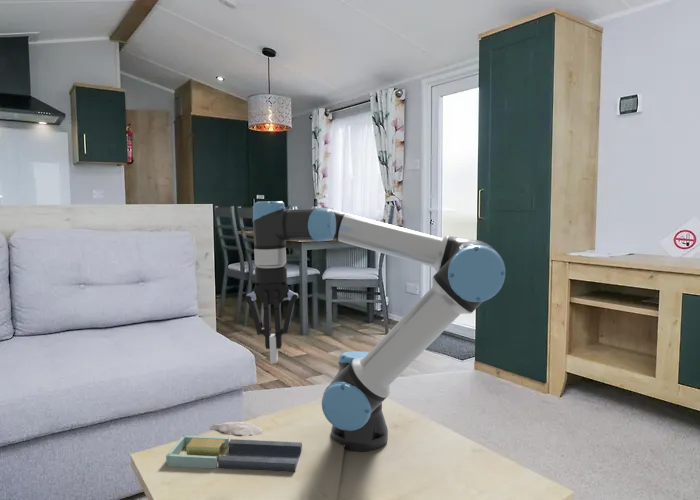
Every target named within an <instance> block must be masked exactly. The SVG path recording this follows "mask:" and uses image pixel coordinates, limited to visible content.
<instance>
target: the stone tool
mask: <svg viewBox="0 0 700 500" xmlns="http://www.w3.org/2000/svg"><path fill="white" fill-rule="evenodd" d="M209 430H211V431H219V432H220V433H223V434H225V435H235V436H237V437H239V436H243V437H248V436H254V435H262V434H263V432H264V429H263V428H261V427H259V426H258V425H256V424H254V423H249V422H248V423H247V422H243V421H226V422H224V423H220V424H219V423H218V424H212V425H210V426H209Z"/></svg>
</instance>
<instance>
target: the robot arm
mask: <svg viewBox="0 0 700 500" xmlns="http://www.w3.org/2000/svg"><path fill="white" fill-rule="evenodd" d="M252 227H253V229H252V230H253V243H254V244H253V245H254V246H253V247H254V249H253V252H254V257H253V258H254V265H255V266H256V267H255V268H254V276H255V284H254V285H255V286H254V288H253V291H252V292H250V293H247V294H246V295H245V297H244V300H245V301H246V302H247V304H248V306H249V308H250V312H251V316H252V318H253V322H254V326H255V330H256V334H259V335H263V336H264V342H265V345H264V346H265V349H266V350H269V359H270V360H269V363H270V364H277V363H278V361H279V349H281V348H282V345H283V340H282V339H283V338H282V337H283V335H284V334H287V333H288V332H289V330H290V326H291V320H292V316H293V312H294V307H295V302H296V301H297V300H298V298H299V293H298V292H294V291H292V290H290V286H289V284H288V270H287V269H288V268H287V267H286V264H287V250H286V249H287V245H286V243H287V242H293V241H295V242H319V243H320V242H325V241H327V242H329V241H332V240H333V241H336V242H341V243H345V244H348V245H351V246H355V247H358V248H362V249H366V250H370V251H373V252H376V253H381V254H384V255H388V256H392V257H393V258H394V257H395V258H399V259H402V260H406V261H409V262H413V263H417V264H420V265H424V266H426V267H427V266H428V267H431V268H434V270H435V271H436V273H435V274H434V275H433V276H432V286H431V288H429V290H428V291H427V292H426V293H425V294H424V295H423V296H422V297H421V298H420V299H419V300H418V301H417V302H416V303H415V304H414V305H413V306H412V307H411V308H410V309H409V311H407V313H406V314H405V315H404V316H403V317H402V318H401V319H400V320H399V321H398V322H397V323H396V324H395V325H394V326H393V327H392V329H390V330H389V331H388V333H387V334H385V335H384V336H383V337H382V339H380V340H379V342H378V343H377V344H376V345H375V346H373V348H371V350H370V351H363V350H362V351H358V350H357V351H353V350H352V351H345V352H342V353H340V355H339V357H338V361H337V362H338V372H337V373H336V375H334V377H333V379H332V380H331V382H330V383H329V385H328V386H327V387H326V388H325V389H324V392H323V393H322V394H323V395H322V399H321V410H322V412H323V416H324V418H326V420H327V421H328V422H329V423H330V424H331V425H332V426H331V434H330V435H331V437H332V439H333V440H334V441H335V442H336V443H338V444H340V445H342V446H344V449H345V450H350V451H355V452H366V451H372V450H377V449H379V448H381V447H383V446H384V445H385V444H386V443H387V442H388V439H389V434H388V433H389V430H388V426H387V421H386V419H385V416H384V413H383V402H384V401H385V400H386V399H387V398H388V397H389V396H390V393H391V392H390V385H391V384H392V383H393V382H394V381H395V380H396V379H397V378H399V376H400V375H401V374H402V373H403V372H405V371H406V370H407V368H408V367H410V365H411V364H413V362H414V361H416V359H417V358H418V357H419V356H420V355H421V354H422V353H424V351H425V350H427V348H428V347H429V346H430V345H431V344H432V343H434V341H436V339H437V338H438V337H440V336H441V334H442V333H443V332H444V331H445V330H447V328H448V327H449V326H451V324H452V323H453V322H454V321H455V320H456V319H457V318H458V317H459V316H460V315H462V314H463V315H465V314H472V313H473V312H474V311H475V310H476V309H477V308H479V307H480V305H481V304H482V303H484V302H486V301H488V300H490V299H492V298H493V297H494V296H496V295H497V294H498V293H499V292H500V290H501V289H502V287H503V285H504V282H505V280H506V279H505V278H506V266H505V265H506V264H505V262H504V260H503V258H502V256H501V255H500V253H498V251H497V250H496V249H495V247H493V246H492V245H491V244H489V243H487V242H485V241H482V240H477V239H476V240H475V239H469V238H468V239H467V238H462V237H457V236H452V235H448V234H447V235H445V236H444V237H440V236H439V237H438V236H436V235H431V234H427V233H424V232H420V231H416V230H412V229H410V228H405V227H401V226H397V225H393V224H389V223H385V222H381V221H378V220H374V219H370V218H366V217H364V216H363V217H362V216H358V215H354V214H351V213H347V212H346V213H345V212H343V211H339V210H337V209H334V207H333V208H332V207H328V206H324V207H323V206H322V207H316V208H314V207H313V208H298V209H297V208H296V209H295V208H294V209H292V208H286V206H285V202H283V200H279V201H278V200H277V201H276V200H275V201H273V200H272V201H256V202H255V203H253V206H252ZM286 296H287V300H288V304H287V309H286V313H285V318H284V323H283V327H282V302H283V301H284V299H285V298H286ZM257 298H258V299H259V301H260V302H261V303H262V308H263V321H262V317H261V314H260V310H259V307H258V303H257V301H256V300H257ZM271 305H273V310H274V332H275V333H272V320H271V319H272V318H271V317H272V316H271V315H272V313H271Z"/></svg>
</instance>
